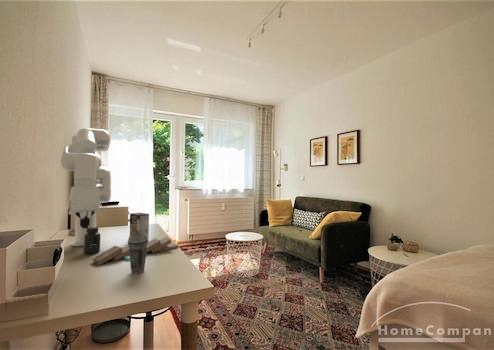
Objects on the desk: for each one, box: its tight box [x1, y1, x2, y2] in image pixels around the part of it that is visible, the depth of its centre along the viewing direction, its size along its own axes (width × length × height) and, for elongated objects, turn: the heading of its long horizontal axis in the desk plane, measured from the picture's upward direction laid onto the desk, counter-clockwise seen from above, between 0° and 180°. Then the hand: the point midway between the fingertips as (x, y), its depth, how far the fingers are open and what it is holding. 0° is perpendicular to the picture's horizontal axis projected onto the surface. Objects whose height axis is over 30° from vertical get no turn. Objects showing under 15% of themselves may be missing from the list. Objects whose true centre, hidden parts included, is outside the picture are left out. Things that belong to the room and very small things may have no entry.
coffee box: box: [129, 212, 150, 241], centre depth 135 cm, size 9×6×16 cm
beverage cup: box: [127, 219, 149, 275], centre depth 92 cm, size 7×7×20 cm
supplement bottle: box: [82, 226, 101, 256], centre depth 115 cm, size 7×7×12 cm
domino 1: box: [91, 245, 123, 266], centre depth 103 cm, size 6×2×10 cm
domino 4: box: [149, 236, 173, 254], centre depth 119 cm, size 6×2×10 cm
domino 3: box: [146, 237, 161, 254], centre depth 116 cm, size 6×2×10 cm
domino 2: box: [109, 244, 130, 262], centre depth 108 cm, size 6×2×10 cm
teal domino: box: [121, 254, 130, 262], centre depth 109 cm, size 6×2×10 cm
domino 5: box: [157, 242, 179, 253], centre depth 122 cm, size 6×2×10 cm
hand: (84, 227), depth 98 cm, fingers closed
